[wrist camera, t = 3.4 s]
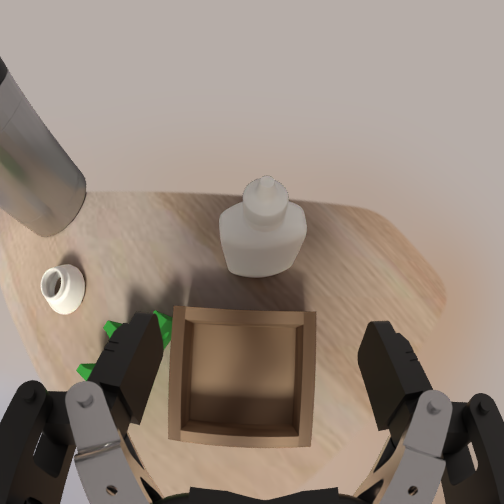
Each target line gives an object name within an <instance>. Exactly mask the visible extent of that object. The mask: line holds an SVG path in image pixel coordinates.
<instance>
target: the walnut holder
mask: <svg viewBox="0 0 504 504" xmlns="http://www.w3.org/2000/svg"><path fill="white" fill-rule="evenodd" d="M315 365H316V312H296V311H257V310H233V309H215V308H199V307H185V306H174V308H173V320H172V334H171V349H170V369H169V400H168V439H170V440H176V441H182V442H189V443H197V444H206V445H215V446H228V447H246V448H293V447H311V436H312V423H313V408H314V390H315Z"/></svg>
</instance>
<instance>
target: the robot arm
mask: <svg viewBox="0 0 504 504" xmlns="http://www.w3.org/2000/svg"><path fill="white" fill-rule="evenodd" d="M85 193H86V181H85V178H84V176H83V174H82V173H81V171H80V170H79V169H78V168H77V166H76V165H75V164H74V163H73V161H72V160H71V159H70V157H69V156H68V155H67V153H66V152H65V151H64V150H63V148H62V147H61V146H60V144H59V143H58V142H57V140H56V139H55V138H54V136H53V135H52V134H51V132H50V131H49V130H48V128H47V127H46V126H45V124H44V123H43V121H42V120H41V119H40V117H39V116H38V114H37V113H36V111H35V110H34V109H33V107H32V106H31V104H30V103H29V101H28V100H27V98H26V97H25V95H24V94H23V92H22V91H21V89H20V88H19V86H18V85H17V83H16V82H15V80H14V79H13V77H12V75H11V74H10V72H9V70H8V69H7V67H6V65H5V64H4V62H3V61H2V59H1V57H0V208H1V209H3V210H4V211H5V212H6V213H8V214H9V215H11V216H12V217H13V218H15V219H16V220H17V221H18V222H20V223H21V224H23V225H24V226H26V227H27V228H28V229H30V230H31V231H33V232H34V233H36V234H37V235H39V236H42V237H48V236H52V235H55V234H57V233H59V232H60V231H62V230H63V229H64V228H65V227H67V225H68V224H69V223H70V222H71V221H72V220H73V219H74V217H75V216H76V215H77V213H78V211H79V209H80V208H81V205H82V203H83V200H84V197H85ZM163 351H164V345H163V339H162V335H161V330H160V326H159V321H158V317H157V315H156V314H155V313H146V312H136V313H135V314H134V316H133V318H132V320H131V322H130V323H129V324H127V323H123V324H122V325H121V326H120V327H118V328H117V329H116V330H115V331H114V332H113V334H112V336H111V337H110V339H109V342H108V343H107V344H106V346H105V348H104V351H102V353H101V355H100V357H99V359H98V360H97V362H96V364H95V366H94V368H93V370H92V371H91V373H90V375H89V377H88V379H87V381H83V382H79V383H76V384H75V385H73V386H72V387H71V388H70V389H69V390H68V391H67V392H57V391H47V390H46V388H45V387H44V386H43V384H42V383H40V382H38V381H34V380H31V381H27V382H25V383H23V384H22V385H21V386H20V387H19V388H18V389H17V391H16V393H15V395H14V397H13V399H12V401H11V402H10V404H9V406H8V408H7V410H6V412H5V414H4V416H3V419H2V420H1V422H0V504H60V502H61V497H62V493H63V490H64V485H65V482H66V479H67V475H68V472H69V468H70V465H71V461H72V458H73V455H74V452H75V449H76V446H77V450H78V454H76V455H75V456H74V461H75V465H76V468H77V471H78V474H79V477H80V480H81V482H82V485H83V488H84V491H85V493H86V496H87V498H88V500H89V503H90V504H432V502H433V499H434V497H435V494H436V492H437V489H438V486H439V484H440V481H441V483H442V487H443V492H444V497H445V502H446V504H504V422H503V419H502V417H501V415H500V413H499V410H498V408H497V406H496V404H495V402H494V400H493V399H492V398H491V397H490V396H488V395H486V394H483V393H479V394H475V395H474V396H473V397H472V398H471V399H470V401H469V402H468V403H465V402H464V403H463V402H451V401H450V399H449V398H448V397H447V396H446V395H445V394H444V393H442V392H440V391H437V390H433V388H432V386H431V384H430V382H429V380H428V378H427V376H426V374H425V373H424V370H423V368H422V366H421V364H420V362H419V361H418V358H417V356H416V354H415V353H414V351H413V349H412V347H411V345H410V343H409V341H408V340H407V339H406V338H404V337H403V336H402V335H401V334H400V333H395V331H394V329H393V327H392V325H391V323H390V322H389V321H372V322H369V324H368V326H367V328H366V331H365V334H364V337H363V340H362V342H361V345H360V348H359V351H358V365H359V368H360V371H361V374H362V377H363V380H364V383H365V387H366V390H367V393H368V396H369V400H370V403H371V406H372V410H373V413H374V417H375V420H376V423H377V427H378V431H381V430H386V429H389V431H390V435H389V436H388V438H387V440H386V442H385V445H384V447H383V449H382V451H381V452H380V454H379V456H378V459H377V460H376V462H375V464H374V466H373V468H372V470H371V471H370V473H369V475H368V476H367V478H366V479H365V480H364V482H363V483H362V484H361V485H360V486H359V488H358V489H357V490H356V492H355V493H354V495H353V496H350V495H345V494H338V487H336V488H328V489H320V490H310V491H302V492H298V493H295V494H291V495H287V496H283V497H279V498H275V499H271V500H260V499H255V498H251V497H247V496H243V495H239V494H236V493H232V492H228V491H221V490H211V489H202V488H195V487H190V492H189V493H182V494H176V495H172V496H168V497H165V498H164V496H163V495H162V493H161V491H160V490H159V488H158V487H157V485H156V484H155V482H154V481H153V479H152V478H151V476H150V475H149V473H148V472H147V470H146V468H145V466H144V464H143V462H142V460H141V458H140V456H139V454H138V452H137V450H136V448H135V446H134V444H133V442H132V440H131V438H130V435H129V433H128V431H127V430H128V427H129V424H130V423H134V424H138V425H140V423H141V420H142V416H143V413H144V410H145V407H146V404H147V401H148V398H149V395H150V392H151V389H152V386H153V383H154V380H155V377H156V374H157V372H158V369H159V366H160V363H161V360H162V357H163ZM41 433H42V435H41ZM40 435H41V438H40ZM39 438H40V440H39ZM38 440H39V443H38ZM470 442H472V445H473V448H474V451H475V454H476V457H477V460H478V468H477V470H476V471H475V468H474V465H473V462H472V458H471V455H470V452H469V448H468V446H467V445H468V444H469V443H470ZM37 443H38V445H37ZM36 445H37V448H36ZM35 448H36V451H35ZM34 451H35V453H34ZM33 454H34V456H33Z"/></svg>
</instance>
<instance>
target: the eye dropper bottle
mask: <svg viewBox="0 0 504 504" xmlns="http://www.w3.org/2000/svg"><path fill="white" fill-rule="evenodd" d="M219 230H220V240H221V245H222V249H223V253H224V256H225V260H226V264H227V267H228V270H229V271H230V272H231V273H233V274H236V275H239V276H243V277H251V278H261V277H268V276H272V275H275V274H278V273H281V272H283V271H285V270H287V269H288V268H290V267H291V266H292V264H293V262H294V260H295V258H296V256H297V254H298V252H299V250H300V248H301V246H302V244H303V241H304V239H305V237H306V232H307V224H306V219H305V214H304V211H303V209H302V208H301V207H300V206H299V205H297V204H295V203H292V202H290V201H289V196H288V192H287V190H286V188H285V187H284V186H283V185H282V184H281V183H280V182H278V181H276V180H274V179H273V178H272V177H271V176H263V177H262V178H260V179H256V180H254V181H252V182H251V183H250V184H248V185H247V187H246V189H245V190H244V193H243V202H240V203H238V204H235V205H233V206H231V207H230V208H228V209H226V210H225V211H224V212H223V213H222V214H221V215H220V218H219Z"/></svg>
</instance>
